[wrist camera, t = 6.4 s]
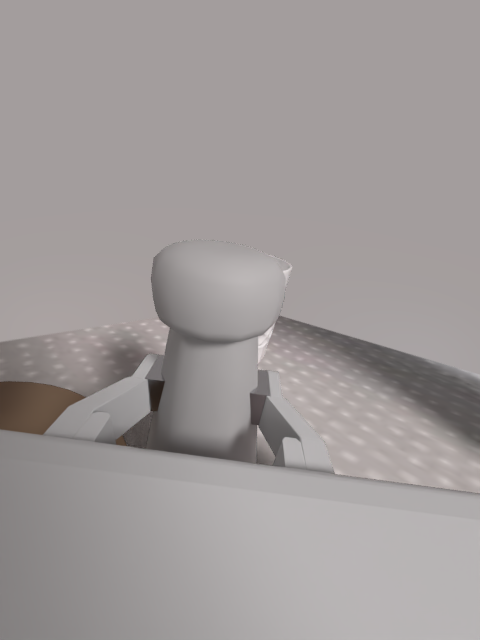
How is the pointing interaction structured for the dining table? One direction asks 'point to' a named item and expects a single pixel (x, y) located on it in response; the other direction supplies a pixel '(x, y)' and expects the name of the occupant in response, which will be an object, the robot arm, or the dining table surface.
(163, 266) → the salt shaker
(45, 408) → the turntable
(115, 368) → the dining table surface
